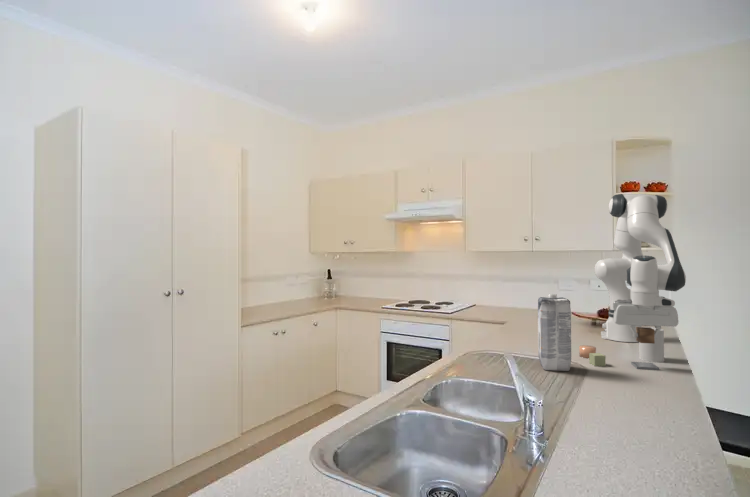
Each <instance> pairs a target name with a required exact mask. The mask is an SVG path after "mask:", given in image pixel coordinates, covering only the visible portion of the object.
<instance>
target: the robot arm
mask: <svg viewBox="0 0 750 497" xmlns="http://www.w3.org/2000/svg"><path fill="white" fill-rule="evenodd" d="M667 201H668V200H667V198H665V196H662V195H658V194H655V195H654V194H647V193H626V194H624V193H617V194H614V195H613V196H612V197H611V198H610V200H609V203H608V211H609V214H610V215H611V216H612V217H615V218H617V222H616V225H615V232H614V238H613V246H615V248H616V249H617V250H618V251H620V252H622V253H621V254H622V257H608V258H603V259H599V260H598V261H597V262H596V263H595V265H594V273H595V276H596V277H597V278H598V279H599V280H601V282H602V283H603V284H604V285H605V287H606V288H607V291H608V295H609V296H608V297H609V309H608V318H607V320H606V322H604V323H602V324H601V325H602V326H601V327H602V329H604V330H603V331H602V330H601V331H600V336H601V339H603V340H604V339H605V340H610V341H615V342H622V343H624V342H625V343H639V342H638V341H637V340H636V337H637V338H639V333H638V332H636V327H654V328H656V330H655V331H654V337H655V338H658V333H659V331H660V330H661V329H662V327H677V326H678V325H679V315H678V311H677V309H676V307H674V306H675V305H676V302H675V300H673V299H670V298H667V297H665V296H661V295H660V291H668V292H677V291H679V290H681V289H682V288H683V287H685V286H686V281H687V276H686V272H685V270H684V269H683V268H684V267H683V265H682V263H681V261H680V256H679V254H678V251H677V248H676V245H675V242H674V239H673V237H672V234H671V232H670V229H668V228H666V227H664V226H663V225H662V224H661V222H660V219H661V218H663V217H665V215H666V212H667V211H668V202H667ZM643 242H644V243H647V244H651V245H653V246H657V247H658V248H660V249H661V250H662V252H663V255H664V259H665V264H658V261H657V258H656V257H655V256H652V255H644V254H643V251H642V243H643ZM626 283H627V284H626ZM627 285H629V286H630V288H628V286H627Z"/></svg>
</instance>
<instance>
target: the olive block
mask: <svg viewBox="0 0 750 497" xmlns="http://www.w3.org/2000/svg"><path fill="white" fill-rule="evenodd" d="M588 362H589V364H590V365H591V364H592V365H591V366H593V365H594V367H606V355H605V354H602V353H600V352H596V353H589V361H588Z"/></svg>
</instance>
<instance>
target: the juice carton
mask: <svg viewBox="0 0 750 497" xmlns="http://www.w3.org/2000/svg"><path fill="white" fill-rule="evenodd" d="M571 309H572V308H571V300H569V299H567V298H566V297H558V296H557V294H553V293H552V294H550V293H549V294H548V297H546V296H545V297H544V296H543V297H541V296H540V297H538V300H537V354H538V355H537V356H538V359H539V363H540V366H541V367H542V369H543V370H544V371H560V372H569V371H570V368H571V365H572V310H571Z"/></svg>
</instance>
